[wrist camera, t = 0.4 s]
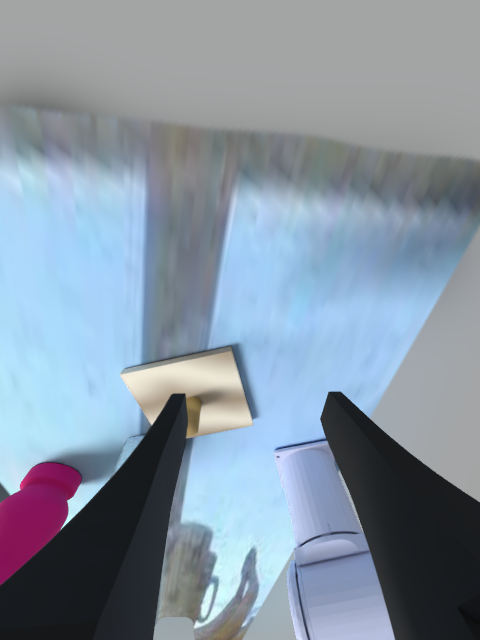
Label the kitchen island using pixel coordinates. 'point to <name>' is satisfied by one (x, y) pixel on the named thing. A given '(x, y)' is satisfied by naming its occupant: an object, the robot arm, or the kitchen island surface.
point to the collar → (127, 451)
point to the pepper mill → (34, 514)
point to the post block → (194, 390)
